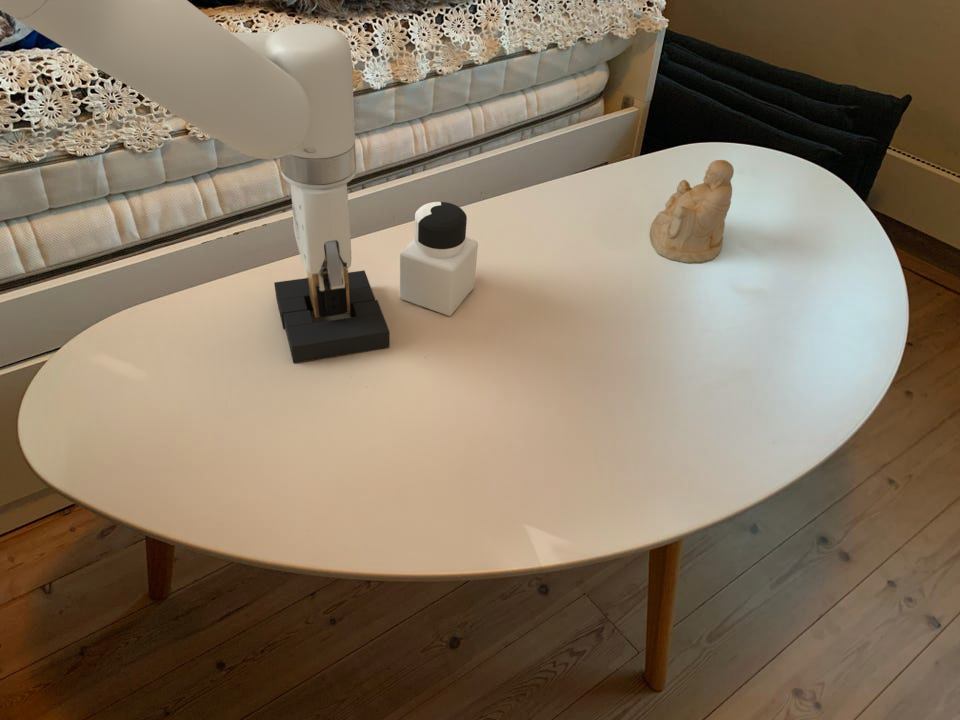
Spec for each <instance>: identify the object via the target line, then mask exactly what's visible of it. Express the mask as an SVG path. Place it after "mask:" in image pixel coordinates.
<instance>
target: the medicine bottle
mask: <svg viewBox="0 0 960 720" xmlns="http://www.w3.org/2000/svg"><path fill="white" fill-rule="evenodd" d="M467 221H468V217H467V214H466V212H465V210H463V208H461V207H460V206H458V205H457V204H454V203H452V202H446V201H433V202H428V203H425V204H423V205H421V206H420V207H419V208H418V209H417V210H416V211H415V214H414V238H413V239H412V240H411V241H410V242H409V243H408V244H407V245H406V246H405V247H404V248H403V249H402V250H401V251H400V253H399V299H401V300H402V301H405V302H408V303H411V304H413V305H417V306H418V307H422V308H424V309H428V310H429V311H430V310H431V311H433V312H436V313H439V314H442V315H445V316H446V317H450V316H452V315H453V314H454V313H455V311H456V310H457V309H458V308H459V306H461V304H462V303H463V301H464V300H465V299H466V298H467V296H469V295H470V293H471V291H472V290H473V289H474V288H475V286H476V285H475V284H476V270H477V260H478V250H479V249H478V246H479V243H478V240H475V239H472V238H469V237H467V223H468V222H467Z"/></svg>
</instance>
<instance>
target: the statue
mask: <svg viewBox="0 0 960 720" xmlns="http://www.w3.org/2000/svg"><path fill="white" fill-rule="evenodd" d="M734 172H735V169H734V166H733V164H732V163H730V162H729V161H728V160H726V159H716V160H713V161H711V162H710V163H709V165H708V167H707V169H706V170H705V174H704V177H703V182H702V183H699V184H696V185H694V186H693V187H691V185H690V183H689V181H687V180H686V179H683V180H681V181H680V182H679V183H678V185H677V187H676V191H675V192H674V193H672V194H671V195H670V197H669V198H668V200H667V201H666V203H665V206H664V207H665V209H664V210H662V211H659V212H658V214H657V215H656V216H655V217H654V219H653V222H652V223H651V226H650V229H649V238H650V243H651V245H652V247H653V248H654V251H656V253H657V255H660V256H662V257H663V258H666V259H668V260H671V261H677V262H681V263H685V264H686V263H687V264H694V263H698V264H699V263H701V264H702V263H705V262H708V261H709V262H710V261H712V260H714V259H716V257H718V256H719V255H720V252H721V251H722V248H723V243H724V233H725V227H726V221H725V220H726V219H727V215H728V212H729V210H730V207H731V204H732V201H731V200H732V196H733V186H732V179H733V177H734V174H735V173H734Z"/></svg>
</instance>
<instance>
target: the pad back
mask: <svg viewBox="0 0 960 720" xmlns="http://www.w3.org/2000/svg"><path fill="white" fill-rule="evenodd" d="M366 273H367V272H366V271H365V269H364V270H358V271H348V279H349V297H350V313H348V314H349V318H351V317H353V303H359V302H365V301H372V300H376V297H375V295H374V291H373V289H372V287H371V284H370V281H369V278H368V276H367V274H366ZM273 284H274V293H275V299H276V303H277V307H278V312H279V316H280V320H281V321H280V322H281V325H282V329H283V330H285V323H284V315H283V314H284V313H291V312H297V311H304V310H310V313H311V312H314V310H313V306H312V302H311V299H310V292H309V282H308V277H304V278H296V279H289V280H282V281H274V282H273Z"/></svg>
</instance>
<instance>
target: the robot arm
mask: <svg viewBox="0 0 960 720" xmlns="http://www.w3.org/2000/svg"><path fill="white" fill-rule="evenodd" d="M0 11H1V12H3V13H5V14H7V15H8V16H10V17H11V18H13V19H14V20H16V21H18V22H20V23H22V24H23V25H25V26H27V27H28V28H30V29H33V30H34V31H36V32H37V33H39V34H41V35H42V36H44V37H45V38H47V39H49V40H50V41H52V42H53V43H56V44H57V45H59V46H61V47H62V48H64V49H66V50H67V51H69V52H70V53H71V54H73V55H75V56H76V57H78V58H79V59H81V60H82V61H83V62H85V63H87V64H88V65H90V66H92V67H94V68H95V69H97V70H99V71H101V72H102V73H104V74H106V75H108V76H110V77H112V78H114V79H116V80H117V81H119V82H121V83H123V84H124V85H126V86H128V87H130V88H131V89H133V90H134V91H136V92H138V93H139V94H141V95H142V96H144V97H146V98H147V99H149V100H151V101H153V102H154V103H156V104H157V105H159V106H160V107H162V108H163V109H165V110H167V111H168V112H170V113H172V114H173V115H175V116H177V117H178V118H179V119H181V120H183V121H185V122H186V123H188V124H190V126H191V125H192V126H193V127H194V128H197V129H198V130H200V131H202V132H204V133H205V134H207V135H209V136H210V137H212V138H214V139H216V140H218V141H220V142H221V143H223V144H225V145H227V146H229V148H232V149H234V150H235V151H238V152H239V153H242V154H243V155H246V156H248V157H251V158H255V159H259V160H273V159H279V165H280V166H279V167H280V174H281V177H282V178H283V180H284V181H286V182H287V183H288V184H290V194H291V207H292V209H291V210H292V221H293V223H292V224H293V225H292V226H293V233H294V236H295V240H296V241H295V242H296V245H297V249H298V252H299V255H300V259H301V263H302V265H303V269H304V271H305V272H306V273H307V275H308V274H310V275H313V274H316V273H317V276H318V284H319V286H318V287H316V291H317V302H318V312H319V316H320V317H319V318H326V317H333V316H339V315H345V314H348V313H347V297H346V284H345V280H344V270H343V267H344V268H345V269H346V270H347V269H348V270H349V269H350V267H351V266H352V238H351V221H350V208H349V207H350V205H349V204H350V202H349V195H348V183H350V182H351V181H353V179H354V178H355V176H356V174H357V156H356V155H357V154H356V153H357V152H356V130H355V129H356V128H355V127H356V126H355V105H354V103H355V102H354V87H353V86H354V81H353V60H352V59H353V58H352V48H351V44H350V42H349V41H348V38H347V37H346V36H345V35H344V34H343V33H342V32H341V31H339V30H338V29H336V28H333V27H332V26H328V25H323V24H316V23H297V24H292V25H287V26H284V27H281V28H279V29H278V30H275V31H267V32H265V31H264V32H263V31H261V32H230V31H229V30H228V29H226V28H224V26H223V25H221V24H219V23H218V22H217V21H215V20H214V19H212V18H211V17H210V16H208V15H207V14H206V13H205V12H203V11H202V10H200V8H199V7H196V6H195V5H194V4H193V3H191V2H190V1H189V0H0ZM324 261H326V262H324ZM325 271H328V277H327V278H325V279H324V276H323V272H325Z"/></svg>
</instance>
